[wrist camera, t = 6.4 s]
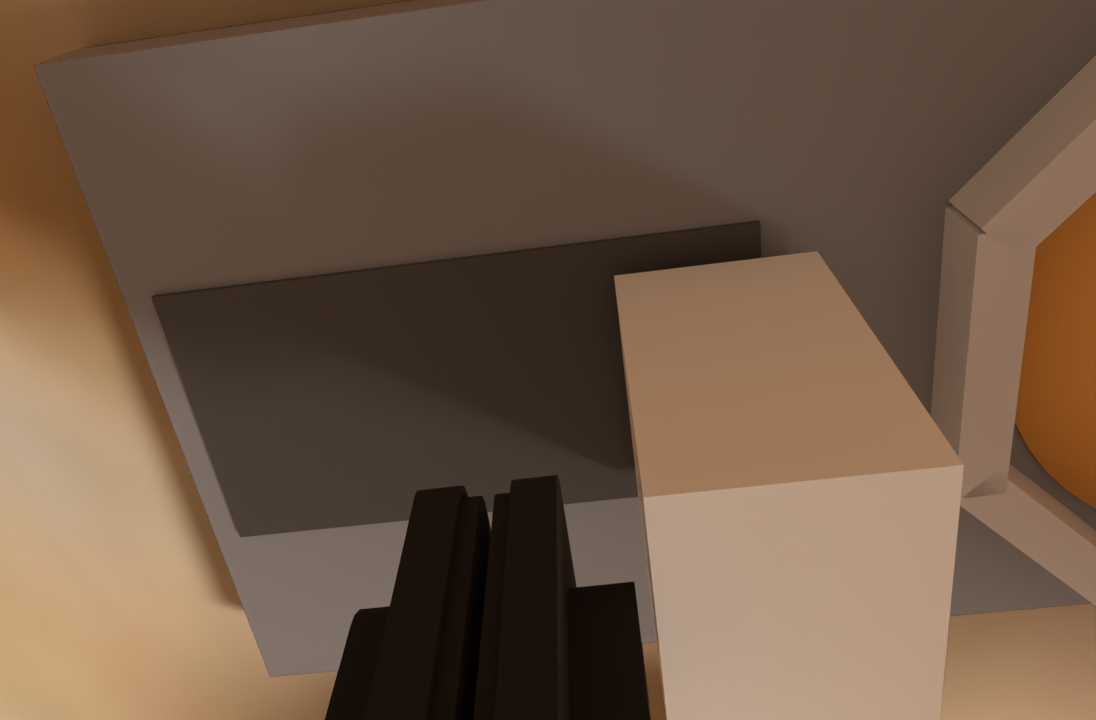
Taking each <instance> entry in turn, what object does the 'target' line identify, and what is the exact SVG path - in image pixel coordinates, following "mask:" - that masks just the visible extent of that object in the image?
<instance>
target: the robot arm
mask: <svg viewBox="0 0 1096 720" xmlns="http://www.w3.org/2000/svg"><path fill="white" fill-rule="evenodd" d="M325 720H651V716H650V708H649V699H648V691H647V682H646V674H645V665H644V657H643V649H642V640H641V632H640V624H639V615H638V607H637V599H636V591H635V583H634V582H625V583H615V584H605V585H595V586H585V587H577V586H576V580H575V573H574V567H573V561H572V555H571V548H570V542H569V536H568V530H567V524H566V517H565V511H564V505H563V499H562V493H561V487H560V481H559V477H558V475H552V476H543V477H534V478H525V479H516V480H512V481H511V486H510V493H501V494H495V496H494V504H493V514H492V525H491V527H490V522H489V518H488V513H487V508H486V504H485V500H484V498H483V496H473V497H468V493H467V491H466V488H465V487H464V486H463V485H460V486H451V487H442V488H433V489H424V490H418V491H417V492H416V494H415V497H414V500H413V505H412V509H411V514H410V518H409V523H408V527H407V532H406V536H405V541H404V545H403V549H402V554H401V558H400V563H399V567H398V572H397V576H396V581H395V585H394V590H393V594H392V598H391V603H390V606H387V607H378V608H368V609H359V610H358V612H357V613H356V614H355V615H354V618H353V620H352V623H351V626H350V629H349V633H348V637H347V640H346V644H345V648H344V651H343V655H342V659H341V662H340V666H339V670H338V673H337V677H336V681H335V685H334V688H333V692H332V696H331V699H330V703H329V707H328V710H327V714H326V718H325Z"/></svg>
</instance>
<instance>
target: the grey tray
mask: <svg viewBox="0 0 1096 720" xmlns="http://www.w3.org/2000/svg"><path fill="white" fill-rule="evenodd" d="M33 67H34V69H35V72H36V74H37V77H38V79H39V82H40V85H41V87H42V90H43V92H44V95H45V97H46V100H47V103H48V105H49V108H50V110H51V113H52V116H53V118H54V121H55V123H56V126H57V128H58V131H59V134H60V136H61V139H62V141H63V144H64V147H65V149H66V152H67V154H68V157H69V159H70V162H71V165H72V167H73V170H74V172H75V175H76V178H77V180H78V183H79V185H80V188H81V190H82V193H83V196H84V198H85V201H86V203H87V206H88V208H89V211H90V214H91V216H92V219H93V221H94V224H95V227H96V229H97V232H98V234H99V237H100V239H101V242H102V245H103V247H104V250H105V252H106V255H107V258H108V260H109V263H110V265H111V268H112V270H113V273H114V276H115V278H116V281H117V283H118V286H119V289H120V291H121V294H122V296H123V299H124V301H125V304H126V307H127V309H128V312H129V314H130V317H131V319H132V322H133V325H134V327H135V330H136V332H137V335H138V338H139V340H140V343H141V345H142V348H143V350H144V353H145V356H146V358H147V361H148V363H149V366H150V369H151V371H152V374H153V376H154V379H155V381H156V384H157V387H158V389H159V392H160V394H161V397H162V400H163V402H164V405H165V407H166V410H167V412H168V415H169V418H170V420H171V423H172V425H173V428H174V430H175V433H176V436H177V438H178V441H179V443H180V446H181V449H182V451H183V454H184V456H185V459H186V461H187V464H188V467H189V469H190V472H191V474H192V477H193V480H194V482H195V485H196V487H197V490H198V492H199V495H200V498H201V500H202V503H203V505H204V508H205V511H206V513H207V516H208V518H209V521H210V523H211V526H212V529H213V531H214V534H215V536H216V539H217V541H218V544H219V547H220V549H221V552H222V554H223V557H224V560H225V562H226V565H227V567H228V570H229V572H230V575H231V578H232V580H233V583H234V585H235V588H236V591H237V593H238V596H239V598H240V601H241V603H242V606H243V609H244V611H245V614H246V616H247V619H248V622H249V624H250V627H251V629H252V632H253V634H254V637H255V640H256V642H257V645H258V647H259V650H260V652H261V655H262V658H263V660H264V663H265V665H266V668H267V671H268V673H269V676H270V677H276V676H288V675H299V674H310V673H321V672H332V671H338V670H339V666H340V662H341V659H342V655H343V651H344V648H345V644H346V640H347V637H348V633H349V629H350V626H351V623H352V620H353V618H354V615H355V614H356V613H357V612H358V610H359V609H368V608H378V607H387V606H390V603H391V598H392V594H393V590H394V585H395V581H396V576H397V572H398V567H399V563H400V558H401V554H402V549H403V545H404V541H405V536H406V532H407V527H408V523H409V518H410V514H411V509H412V505H413V500H414V497H415V494H416V492H417V491H418V490H424V489H433V488H442V487H451V486H460V485H463V486H464V487H465V488H466V491H467V493H468V497H473V496H483V498H484V500H485V504H486V508H487V513H488V518H489V522H490V527H491V525H492V514H493V504H494V496H495V494H501V493H510V486H511V481H512V480H516V479H525V478H534V477H543V476H552V475H558V477H559V481H560V487H561V493H562V499H563V505H564V511H565V517H566V524H567V530H568V536H569V542H570V548H571V555H572V561H573V567H574V573H575V580H576V586H577V587H585V586H595V585H605V584H615V583H625V582H634V583H635V591H636V599H637V607H638V615H639V624H640V632H641V640H642V644H645V643H656V635H655V626H654V618H653V610H652V602H651V594H650V586H649V578H648V570H647V562H646V554H645V546H644V538H643V530H642V522H641V514H640V505H639V497H638V489H637V480H636V471H635V462H634V453H633V444H632V434H631V425H630V416H629V407H628V398H627V389H626V380H625V371H624V362H623V353H622V344H621V335H620V326H619V316H618V307H617V298H616V289H615V280H614V276H615V275H624V274H632V273H640V272H649V271H657V270H665V269H673V268H682V267H690V266H698V265H707V264H715V263H723V262H732V261H740V260H748V259H757V258H765V257H773V256H781V255H790V254H798V253H806V252H815V251H818V253H819V254H820V256H821V257H822V259H823V260H824V262H825V263H826V264H827V266H828V267H829V269H830V270H831V272H832V273H833V275H834V276H835V278H836V279H837V280H838V282H839V283H840V285H841V286H842V288H843V289H844V291H845V292H846V294H847V295H848V297H849V298H850V299H851V301H852V302H853V304H854V305H855V307H856V308H857V310H858V311H859V313H860V314H861V316H862V317H863V318H864V320H865V321H866V323H867V324H868V326H869V327H870V329H871V330H872V332H873V333H874V334H875V336H876V337H877V339H878V340H879V342H880V343H881V345H882V346H883V348H884V349H885V351H886V352H887V353H888V355H889V356H890V358H891V359H892V361H893V362H894V364H895V365H896V367H897V368H898V370H899V371H900V372H901V374H902V375H903V377H904V378H905V380H906V381H907V383H908V384H909V386H910V387H911V389H912V390H913V391H914V393H915V394H916V396H917V397H918V399H919V400H920V402H921V403H922V405H923V406H924V407H925V409H926V410H927V412H928V413H929V415H930V416H931V418H932V419H933V421H934V422H935V424H936V425H937V426H938V428H939V429H940V431H941V432H942V434H943V435H944V437H945V438H946V440H947V441H948V443H949V444H950V445H951V447H952V448H953V450H954V451H955V453H956V454H957V456H958V457H959V459H960V460H961V461H962V463H963V464H964V469H963V479H962V490H961V501H960V511H959V522H958V532H957V543H956V554H955V564H954V575H953V586H952V596H951V607H950V616H957V615H968V614H979V613H990V612H1001V611H1013V610H1024V609H1035V608H1046V607H1057V606H1068V605H1080V604H1091V603H1093V604H1094V605H1095V606H1096V0H411V1H404V2H397V3H390V4H384V5H377V6H370V7H363V8H356V9H349V10H342V11H335V12H329V13H322V14H315V15H308V16H301V17H294V18H287V19H281V20H274V21H267V22H260V23H253V24H246V25H239V26H232V27H226V28H219V29H212V30H205V31H198V32H191V33H184V34H178V35H171V36H164V37H157V38H150V39H143V40H136V41H129V42H123V43H116V44H109V45H102V46H95V47H88V48H82V49H80V50H77V51H74V52H71V53H68V54H66V55H63V56H60V57H57V58H54V59H51V60H49V61H46V62H43V63H40V64H37V65H35V66H33Z"/></svg>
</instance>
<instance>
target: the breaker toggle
mask: <svg viewBox="0 0 1096 720" xmlns="http://www.w3.org/2000/svg"><path fill="white" fill-rule="evenodd" d="M614 280H615V289H616V298H617V307H618V316H619V326H620V335H621V344H622V353H623V362H624V371H625V380H626V389H627V398H628V407H629V416H630V425H631V434H632V444H633V453H634V462H635V471H636V480H637V489H638V497H639V505H640V514H641V522H642V530H643V538H644V546H645V554H646V562H647V570H648V578H649V586H650V594H651V602H652V610H653V618H654V626H655V635H656V643H657V651H658V659H659V667H660V675H661V683H662V691H663V699H664V707H665V715H666V720H940V714H941V703H942V692H943V682H944V671H945V660H946V650H947V639H948V628H949V618H950V607H951V596H952V586H953V575H954V564H955V554H956V543H957V532H958V522H959V511H960V501H961V490H962V479H963V469H964V464H963V463H962V461H961V460H960V459H959V457H958V456H957V454H956V453H955V451H954V450H953V448H952V447H951V445H950V444H949V443H948V441H947V440H946V438H945V437H944V435H943V434H942V432H941V431H940V429H939V428H938V426H937V425H936V424H935V422H934V421H933V419H932V418H931V416H930V415H929V413H928V412H927V410H926V409H925V407H924V406H923V405H922V403H921V402H920V400H919V399H918V397H917V396H916V394H915V393H914V391H913V390H912V389H911V387H910V386H909V384H908V383H907V381H906V380H905V378H904V377H903V375H902V374H901V372H900V371H899V370H898V368H897V367H896V365H895V364H894V362H893V361H892V359H891V358H890V356H889V355H888V353H887V352H886V351H885V349H884V348H883V346H882V345H881V343H880V342H879V340H878V339H877V337H876V336H875V334H874V333H873V332H872V330H871V329H870V327H869V326H868V324H867V323H866V321H865V320H864V318H863V317H862V316H861V314H860V313H859V311H858V310H857V308H856V307H855V305H854V304H853V302H852V301H851V299H850V298H849V297H848V295H847V294H846V292H845V291H844V289H843V288H842V286H841V285H840V283H839V282H838V280H837V279H836V278H835V276H834V275H833V273H832V272H831V270H830V269H829V267H828V266H827V264H826V263H825V262H824V260H823V259H822V257H821V256H820V254H819V253H818V251H815V252H806V253H798V254H790V255H781V256H773V257H765V258H757V259H748V260H740V261H732V262H723V263H715V264H707V265H698V266H690V267H682V268H673V269H665V270H657V271H649V272H640V273H632V274H624V275H615V276H614Z"/></svg>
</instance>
